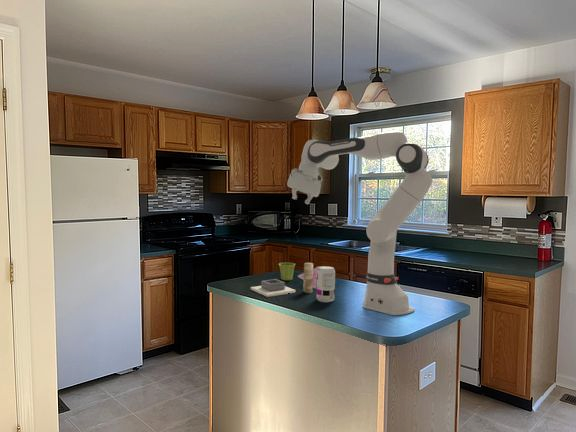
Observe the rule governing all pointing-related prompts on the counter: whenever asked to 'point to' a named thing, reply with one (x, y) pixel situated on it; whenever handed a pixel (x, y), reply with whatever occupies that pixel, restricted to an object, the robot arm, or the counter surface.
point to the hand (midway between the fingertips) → (300, 201)
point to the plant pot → (286, 270)
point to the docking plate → (272, 288)
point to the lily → (313, 277)
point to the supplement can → (325, 284)
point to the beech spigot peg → (308, 277)
